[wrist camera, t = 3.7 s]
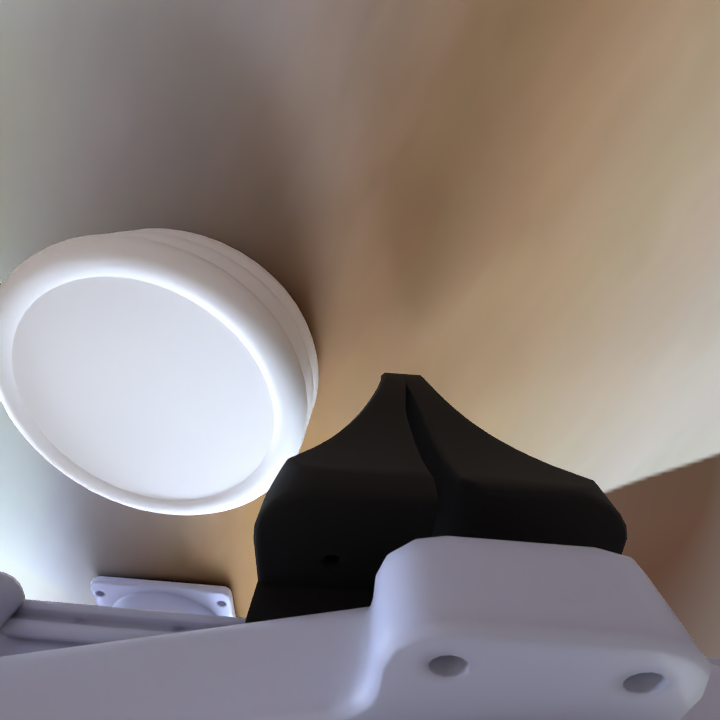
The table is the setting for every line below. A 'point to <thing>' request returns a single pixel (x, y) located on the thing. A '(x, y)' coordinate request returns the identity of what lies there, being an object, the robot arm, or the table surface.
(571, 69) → the table surface
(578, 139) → the table surface
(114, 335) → the white round dish
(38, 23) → the table surface
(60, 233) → the table surface
